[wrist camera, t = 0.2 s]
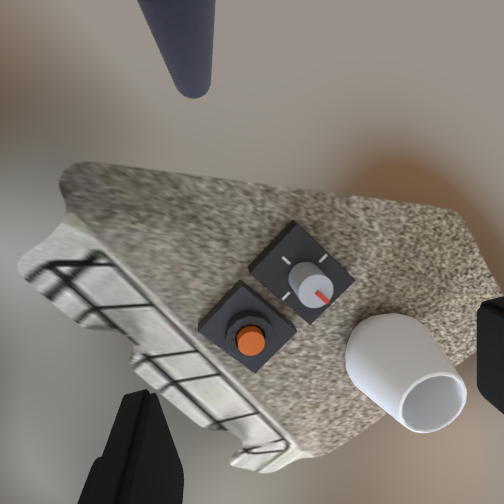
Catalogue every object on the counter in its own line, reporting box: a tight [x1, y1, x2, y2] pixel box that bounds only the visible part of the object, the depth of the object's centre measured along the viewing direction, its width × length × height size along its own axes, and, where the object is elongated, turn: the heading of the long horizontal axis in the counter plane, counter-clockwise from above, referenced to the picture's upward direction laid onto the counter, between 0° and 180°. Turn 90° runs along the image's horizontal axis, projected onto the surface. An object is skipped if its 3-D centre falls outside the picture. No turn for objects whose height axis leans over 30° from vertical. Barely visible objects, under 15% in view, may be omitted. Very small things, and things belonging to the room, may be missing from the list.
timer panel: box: [248, 221, 355, 324], centre depth 45 cm, size 12×9×3 cm
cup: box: [345, 313, 467, 433], centre depth 45 cm, size 13×13×14 cm
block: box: [198, 280, 297, 373], centre depth 46 cm, size 11×9×4 cm
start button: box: [237, 325, 265, 356], centre depth 44 cm, size 4×4×2 cm
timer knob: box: [289, 262, 333, 308], centre depth 42 cm, size 4×4×5 cm
